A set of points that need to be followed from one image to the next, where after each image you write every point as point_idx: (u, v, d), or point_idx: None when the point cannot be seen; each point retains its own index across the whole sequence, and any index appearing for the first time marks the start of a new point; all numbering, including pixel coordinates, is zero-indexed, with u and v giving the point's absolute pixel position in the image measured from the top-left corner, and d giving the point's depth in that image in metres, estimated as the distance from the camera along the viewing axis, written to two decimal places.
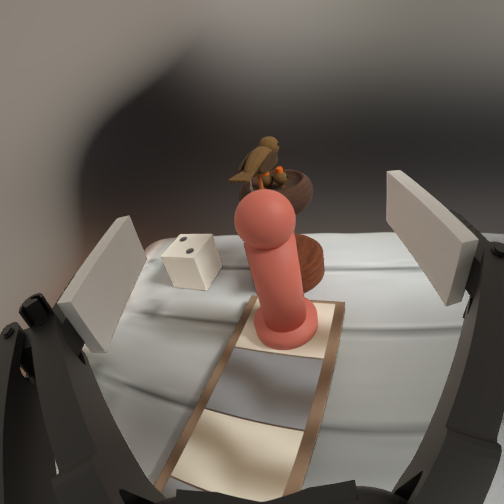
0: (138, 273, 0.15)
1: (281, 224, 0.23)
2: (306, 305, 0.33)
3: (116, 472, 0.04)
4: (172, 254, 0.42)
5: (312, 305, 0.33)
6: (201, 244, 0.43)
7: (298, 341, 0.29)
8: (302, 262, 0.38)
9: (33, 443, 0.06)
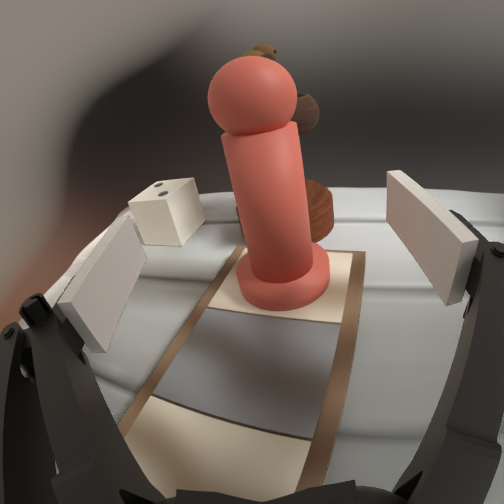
0: (138, 273, 0.15)
1: (275, 87, 0.14)
2: (313, 250, 0.23)
3: (116, 471, 0.04)
4: (142, 199, 0.33)
5: (321, 250, 0.23)
6: (177, 187, 0.33)
7: (302, 296, 0.20)
8: None
9: (33, 443, 0.06)
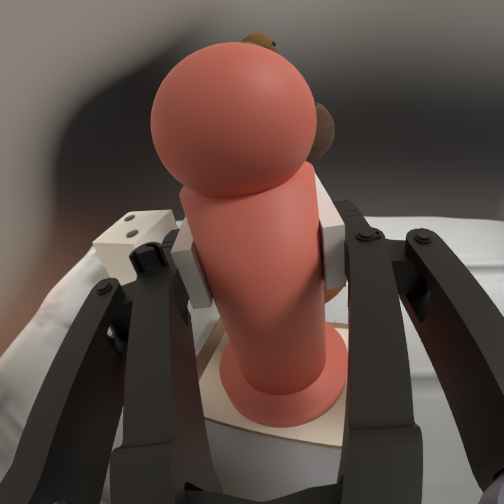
0: None
1: (276, 104, 0.07)
2: (325, 336, 0.16)
3: (187, 460, 0.05)
4: (108, 239, 0.26)
5: (337, 336, 0.16)
6: (150, 224, 0.26)
7: (309, 414, 0.13)
8: None
9: (96, 419, 0.06)
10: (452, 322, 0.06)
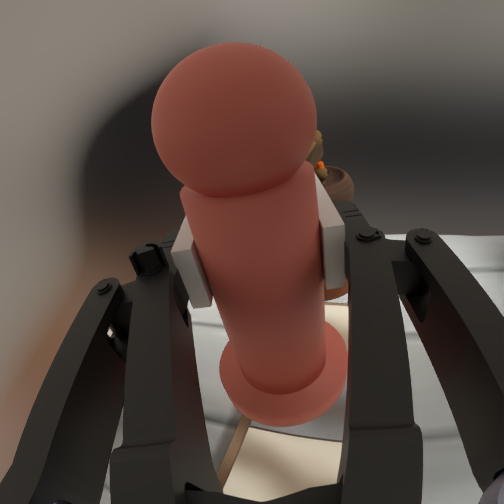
0: None
1: (277, 104, 0.07)
2: (325, 335, 0.16)
3: (187, 460, 0.05)
4: None
5: (337, 336, 0.16)
6: None
7: (309, 414, 0.13)
8: None
9: (96, 419, 0.06)
10: (452, 322, 0.06)
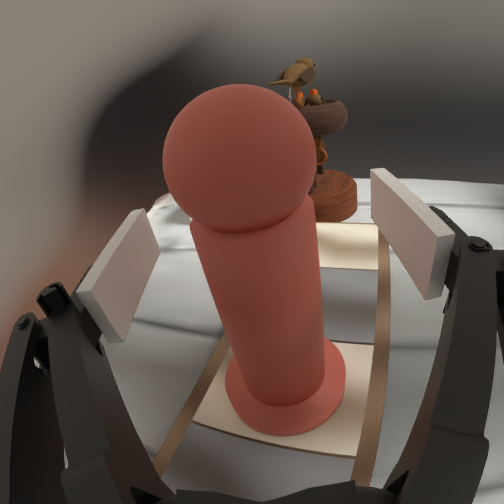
0: (152, 265, 0.15)
1: (279, 152, 0.08)
2: (324, 351, 0.17)
3: (127, 468, 0.04)
4: None
5: (336, 351, 0.17)
6: None
7: (308, 424, 0.13)
8: (337, 188, 0.34)
9: (43, 437, 0.06)
10: None
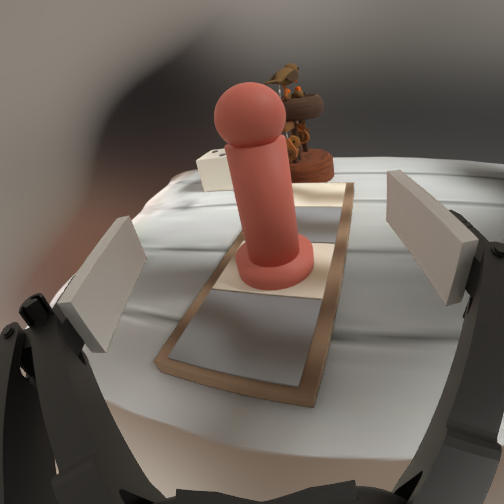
0: (138, 273, 0.15)
1: (267, 110, 0.18)
2: (300, 240, 0.27)
3: (116, 472, 0.04)
4: (207, 158, 0.49)
5: (307, 240, 0.27)
6: None
7: (289, 278, 0.24)
8: (317, 159, 0.45)
9: (33, 443, 0.06)
10: None
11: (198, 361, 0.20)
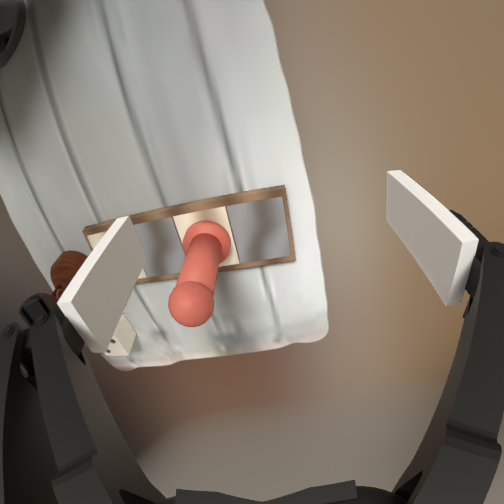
0: (138, 273, 0.15)
1: (199, 292, 0.31)
2: (189, 236, 0.42)
3: (116, 471, 0.04)
4: (122, 349, 0.53)
5: (188, 232, 0.42)
6: None
7: (222, 229, 0.42)
8: (72, 270, 0.45)
9: (33, 443, 0.06)
10: None
11: (286, 241, 0.44)
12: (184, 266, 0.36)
